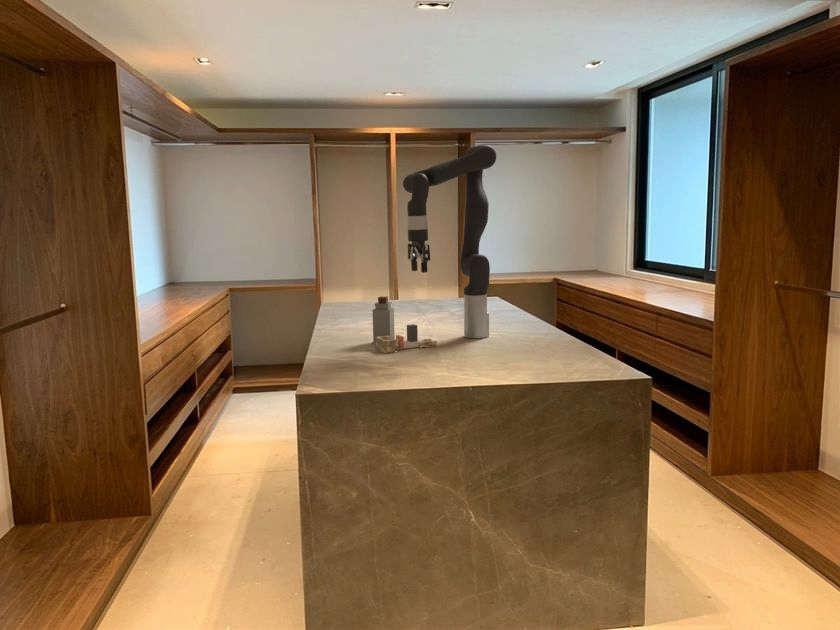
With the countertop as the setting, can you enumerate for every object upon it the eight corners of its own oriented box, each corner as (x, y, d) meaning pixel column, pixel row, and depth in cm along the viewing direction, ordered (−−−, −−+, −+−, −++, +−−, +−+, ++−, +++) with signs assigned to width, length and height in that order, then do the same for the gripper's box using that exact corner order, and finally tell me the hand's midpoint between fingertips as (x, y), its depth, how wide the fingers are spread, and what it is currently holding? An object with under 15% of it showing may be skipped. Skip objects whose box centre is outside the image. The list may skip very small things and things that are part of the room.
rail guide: (430, 343, 249) (430, 338, 248) (437, 346, 243) (437, 340, 243) (413, 345, 246) (413, 340, 245) (420, 348, 240) (420, 342, 240)
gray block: (420, 344, 246) (420, 323, 245) (425, 346, 242) (425, 324, 241) (396, 347, 242) (395, 325, 241) (400, 349, 238) (400, 327, 237)
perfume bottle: (390, 344, 247) (389, 298, 245) (373, 344, 249) (372, 298, 246) (394, 341, 254) (393, 296, 251) (378, 341, 255) (376, 295, 252)
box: (389, 347, 243) (388, 335, 242) (398, 351, 235) (398, 339, 234) (375, 348, 241) (375, 337, 240) (384, 353, 233) (384, 341, 232)
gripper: (435, 228, 236) (436, 272, 238) (418, 227, 248) (420, 269, 251) (416, 229, 232) (418, 274, 235) (400, 228, 245) (402, 271, 248)
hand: (419, 271), depth 243 cm, fingers open, 8 cm apart
